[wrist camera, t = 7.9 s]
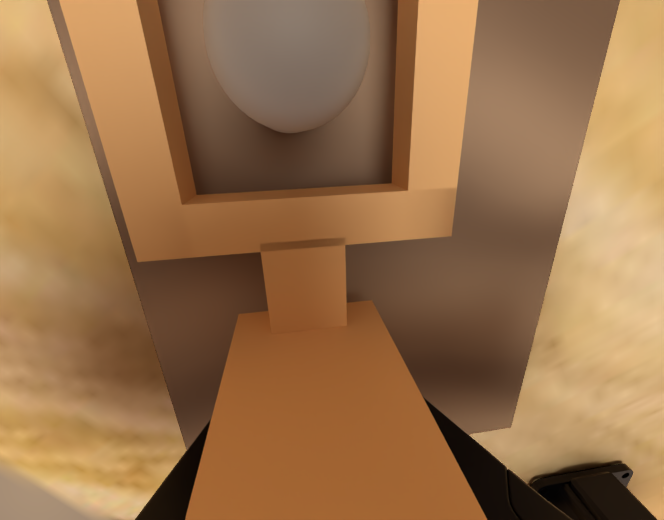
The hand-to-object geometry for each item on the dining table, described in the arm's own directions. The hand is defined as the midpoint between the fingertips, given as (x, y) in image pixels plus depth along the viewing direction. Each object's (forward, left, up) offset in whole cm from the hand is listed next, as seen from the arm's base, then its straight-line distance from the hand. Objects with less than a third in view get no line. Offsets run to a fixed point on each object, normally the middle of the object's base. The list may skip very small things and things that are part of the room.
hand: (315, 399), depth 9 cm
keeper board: (+4, -2, -4) cm, 6 cm away
